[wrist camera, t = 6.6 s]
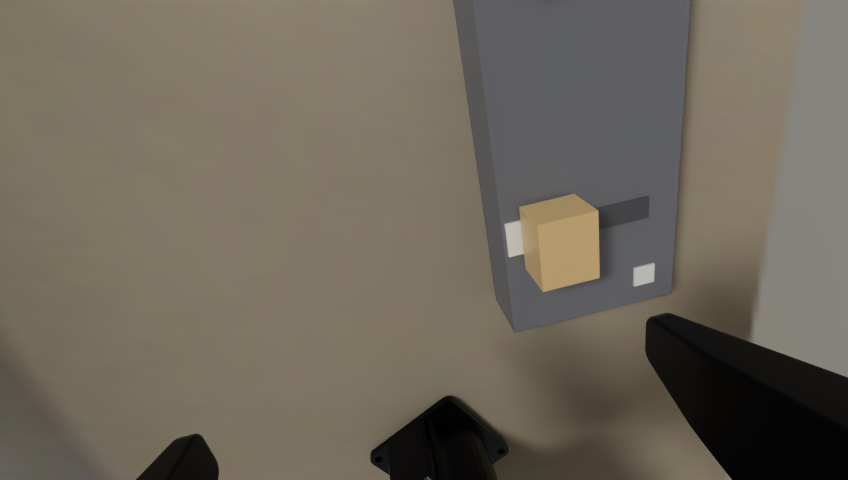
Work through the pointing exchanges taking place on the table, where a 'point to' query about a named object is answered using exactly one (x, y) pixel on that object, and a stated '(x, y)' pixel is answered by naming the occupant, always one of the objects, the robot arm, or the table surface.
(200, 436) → the robot arm
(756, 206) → the table surface
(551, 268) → the outlet switch
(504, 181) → the grey slider switch box
